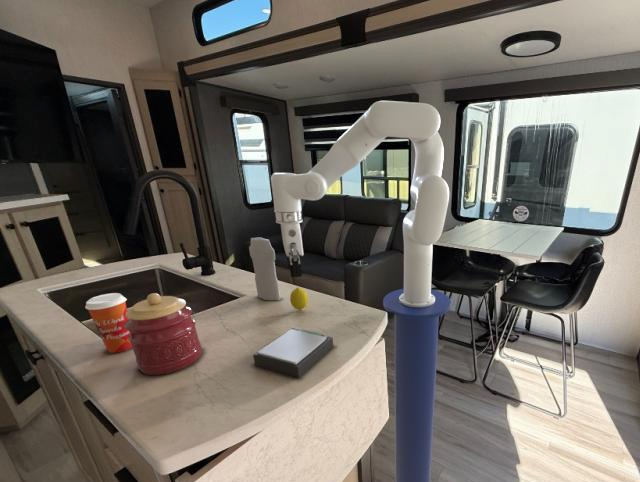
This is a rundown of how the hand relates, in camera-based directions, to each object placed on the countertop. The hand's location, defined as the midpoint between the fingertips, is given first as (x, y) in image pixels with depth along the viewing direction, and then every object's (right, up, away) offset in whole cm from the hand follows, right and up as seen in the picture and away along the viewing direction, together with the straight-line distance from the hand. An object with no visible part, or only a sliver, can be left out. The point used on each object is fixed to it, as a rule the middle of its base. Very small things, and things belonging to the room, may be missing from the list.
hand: (294, 271), depth 100 cm
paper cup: (-40, -21, -16) cm, 48 cm away
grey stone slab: (-14, -9, +14) cm, 22 cm away
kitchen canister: (-23, -23, -22) cm, 39 cm away
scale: (+7, -22, -20) cm, 30 cm away
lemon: (0, -13, +5) cm, 14 cm away
